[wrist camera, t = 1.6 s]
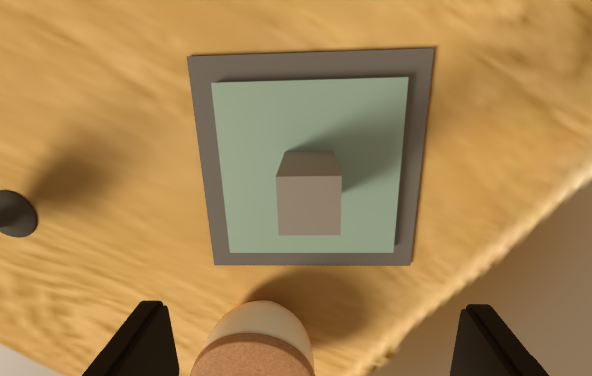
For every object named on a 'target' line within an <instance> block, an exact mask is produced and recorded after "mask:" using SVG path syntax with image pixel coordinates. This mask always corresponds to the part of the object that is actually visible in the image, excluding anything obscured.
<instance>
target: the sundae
mask: <svg viewBox="0 0 592 376" xmlns="http://www.w3.org/2000/svg"><path fill="white" fill-rule="evenodd" d="M35 227H36V215H35V212H34V210H33V208H32V206H31V205H30V204H29V203H28V202H27V201H26V200H25V199H24V198H22V197H21V196H19V195H17V194H15V193H12V192H9V191H0V232H2V233H4V234H6V235H9V236H12V237H26V236H28V235H30V234H31V233H32V232H33V231H34V229H35Z"/></svg>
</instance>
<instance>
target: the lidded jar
mask: <svg viewBox="0 0 592 376" xmlns="http://www.w3.org/2000/svg"><path fill="white" fill-rule="evenodd" d="M190 376H315V371H314V358H313V352H312V346H311V343H310V340H309V337H308V334H307V332H306V330H305V328H304V326H303V324H302V323H301V322H300V320H299V319H298V318H297V317H296V316H295V315H294V314H293V313H292V312H291V311H290V310H288V309H287V308H285V307H283V306H282V305H280V304H278V303H276V302H273V301H269V300H257V301H253V302H248V303H244V304H242V305H239V306H237V307H235V308H234V309H232V310H230V311H229V312H228V313H227V314H225V315H224V316H223V317H222V318H221V319H220V320H219V321H218V323H217V324H216V325H215V326H214V328H213V329H212V331H211V333H210V334H209V336H208V338H207V339H206V341H205V343H204V345H203V348H202V350H201V352H200V354H199V356H198V358H197V359H196V361H195V363H194V366H193V368H192V371H191V374H190Z"/></svg>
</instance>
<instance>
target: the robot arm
mask: <svg viewBox="0 0 592 376" xmlns="http://www.w3.org/2000/svg"><path fill="white" fill-rule="evenodd" d="M82 376H179V364H178V358H177V353H176V348H175V343H174V338H173V332H172V327H171V322H170V317H169V311H168V307H167V306H163V303H162V302H161V301H141V302H140V303H139V305H138V306H137V307H136V308H135V310H134V311H133V312H132V313H131V315H130V316H129V317H128V318H127V320H126V321H125V322H124V324H123V325H122V326H121V327H120V329H119V330H118V331H117V332H116V334H115V335H114V336H113V337H112V339H111V340H110V341H109V343H108V344H107V345H106V346H105V348H104V349H103V350H102V351H101V352H100V353H99V355H98V356H97V357H96V358H95V360H94V361H93V362H92V363H91V365H90V366H89V367H88V369H87V370H86V371H85V372H84V374H83V375H82ZM450 376H549V375H548V374H547V372H546V371H545V370H544V369H543V368H542V366H541V365H540V364H539V363H538V362H537V360H536V359H535V358H534V357H533V356H532V355H530V354H529V352H528V351H527V350H526V349H525V347H524V346H523V345H522V344H521V343H520V342H519V340H518V339H517V337H516V336H515V335H514V334H513V333H512V331H511V330H510V329H509V328H508V326H507V325H506V324H505V323H504V321H503V320H502V319H501V318H500V316H499V315H498V314H497V313H496V312H495V310H494V309H493V308H492V307H491V306H490V305H487V304H486V305H485V304H484V305H483V304H469V305H467V307H466V309H462V310H461V314H460V320H459V325H458V331H457V336H456V342H455V348H454V354H453V360H452V365H451V371H450Z"/></svg>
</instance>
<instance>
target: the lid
mask: <svg viewBox="0 0 592 376" xmlns="http://www.w3.org/2000/svg"><path fill="white" fill-rule="evenodd" d="M408 78H409V77H395V78H361V79H326V80H292V81H257V82H223V83H211V87H212V96H213V105H214V114H215V123H216V132H217V141H218V150H219V159H220V168H221V177H222V186H223V195H224V204H225V213H226V222H227V231H228V240H229V249H230V253H393V251H394V239H395V228H396V216H397V205H398V193H399V182H400V170H401V159H402V147H403V136H404V124H405V113H406V101H407V90H408Z"/></svg>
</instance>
